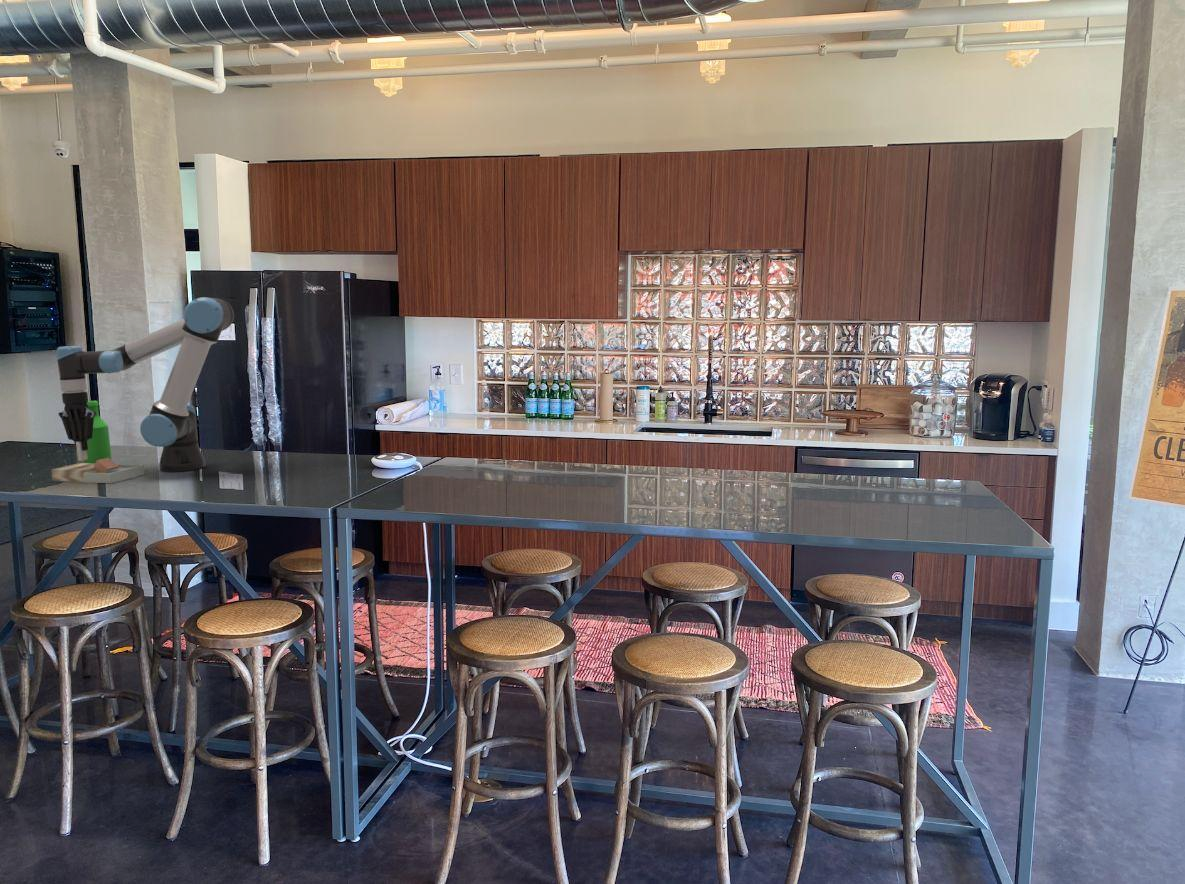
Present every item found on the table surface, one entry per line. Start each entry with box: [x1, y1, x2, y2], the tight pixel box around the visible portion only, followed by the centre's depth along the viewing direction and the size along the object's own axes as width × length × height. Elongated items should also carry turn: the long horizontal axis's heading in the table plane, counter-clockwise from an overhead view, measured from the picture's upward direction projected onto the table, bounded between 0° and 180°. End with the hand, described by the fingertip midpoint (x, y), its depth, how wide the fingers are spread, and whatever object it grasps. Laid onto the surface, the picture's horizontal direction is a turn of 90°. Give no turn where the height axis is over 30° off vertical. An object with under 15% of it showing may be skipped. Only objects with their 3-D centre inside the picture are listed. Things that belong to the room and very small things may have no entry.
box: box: [83, 463, 146, 485], centre depth 294 cm, size 10×16×4 cm, turn 169°
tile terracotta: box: [93, 458, 119, 473], centre depth 294 cm, size 5×5×3 cm
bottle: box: [83, 400, 113, 464], centre depth 312 cm, size 9×9×25 cm
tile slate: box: [108, 468, 128, 473], centre depth 294 cm, size 5×5×3 cm
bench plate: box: [51, 462, 96, 483], centre depth 297 cm, size 14×12×4 cm
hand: (82, 459), depth 296 cm, fingers closed
